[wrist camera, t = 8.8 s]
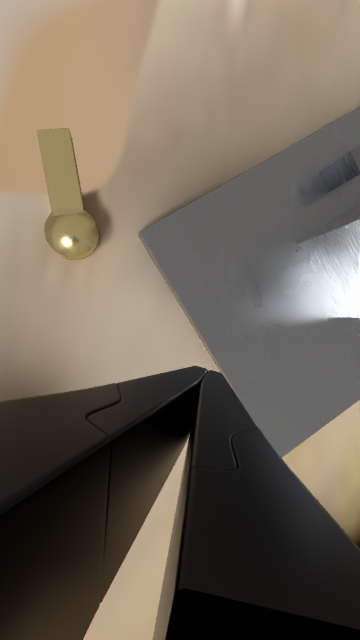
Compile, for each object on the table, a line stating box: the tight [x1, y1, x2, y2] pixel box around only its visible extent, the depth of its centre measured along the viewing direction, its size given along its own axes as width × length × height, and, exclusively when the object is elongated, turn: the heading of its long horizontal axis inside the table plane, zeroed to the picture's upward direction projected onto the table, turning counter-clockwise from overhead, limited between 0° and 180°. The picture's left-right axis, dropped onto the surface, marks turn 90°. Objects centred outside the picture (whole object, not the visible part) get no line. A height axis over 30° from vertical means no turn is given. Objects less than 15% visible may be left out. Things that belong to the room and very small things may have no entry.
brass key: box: [37, 128, 99, 260], centre depth 19 cm, size 8×3×1 cm, turn 10°
